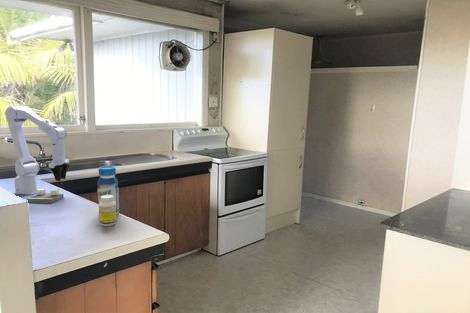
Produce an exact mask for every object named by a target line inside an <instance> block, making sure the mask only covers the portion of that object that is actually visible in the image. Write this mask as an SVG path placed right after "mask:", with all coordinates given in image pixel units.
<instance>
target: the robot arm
mask: <svg viewBox="0 0 470 313" xmlns="http://www.w3.org/2000/svg"><path fill="white" fill-rule="evenodd" d="M4 115H5V118H6V121H7V127H8V129H9V133H10V136H11V139H12V143H13V145H14V148H15V152H16V154H17V158H18V159H16V161H15V162H14V166H15V168H14V170H15V174H16V176H15V178H14V189H15V192H14V195H35V194H37V193H36V190H38V182H37V180H38V179H37V175H38V172H39V171H40V165H39V163H38V162H37V159H36V158H35V157H33V156H31V154H30V150H29V148H28V147H29V146H28V143H27V140H26V137H25V133H24V130H23V128H22V126H23V124H25V123H26V122H27V121H30V122H32V123H33V124H35V125H37V128H38V129H39V130H40V131H41V132H43V133H45V135H47V138H48V139H49V141H50V144H51V155H52V161H51V162H50V163H48V168H49V170H50V171H51V172H52V175H53V177H54V179H55V181H56V182H60V181H61V180H65V179H66V176H67V173H68V169H69V167H70V164H69V163H70V159H69V158H66V146H65V144H66V143H65V139H66V138H67V136H68V135H67V134H68V132H67V129H65V128H64V127H62V126H61V127H59V126H58V125H57V124H54V123H52V122H51V120H50V119H43V118H42V117H40V116H39V115H37V114H36V113H35V112H33V110H32V109H31V108H30V107H29V106H27V105H24V106H8V107H7V108H6V110H5V112H4Z"/></svg>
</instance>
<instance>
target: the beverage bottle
mask: <svg viewBox="0 0 470 313" xmlns="http://www.w3.org/2000/svg"><path fill="white" fill-rule="evenodd" d="M116 169H117V168H116V166H112V165H107V166H100V167H99V168H98V176H99V179H98V180H97V189H96V190H97V197H98V198H97V200H98V202H97V203H98V204H99V203H100V202H102V201H101V196H103V195H113V197H114V199H113V201H115V203H116V215H118V214H119V213H120V200H119V198H120V196H119V190H120V189H119V181H118V179H117V177H116V174H117V170H116Z"/></svg>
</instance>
